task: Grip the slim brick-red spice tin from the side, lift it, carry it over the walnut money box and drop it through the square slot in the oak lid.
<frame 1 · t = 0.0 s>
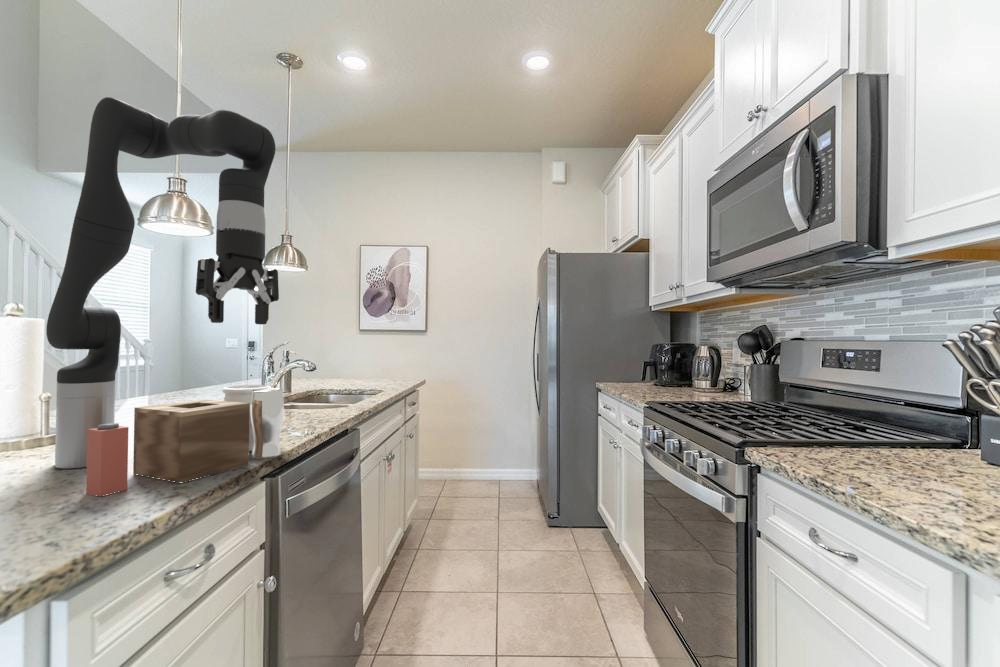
hand: (239, 323, 81), 29 cm above the countertop, tool pointing down, fingers open, 8 cm apart
jar: (246, 449, 111), on the countertop
slot box: (193, 469, 93), on the countertop
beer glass: (266, 456, 105), on the countertop
spice tin: (106, 492, 80), on the countertop
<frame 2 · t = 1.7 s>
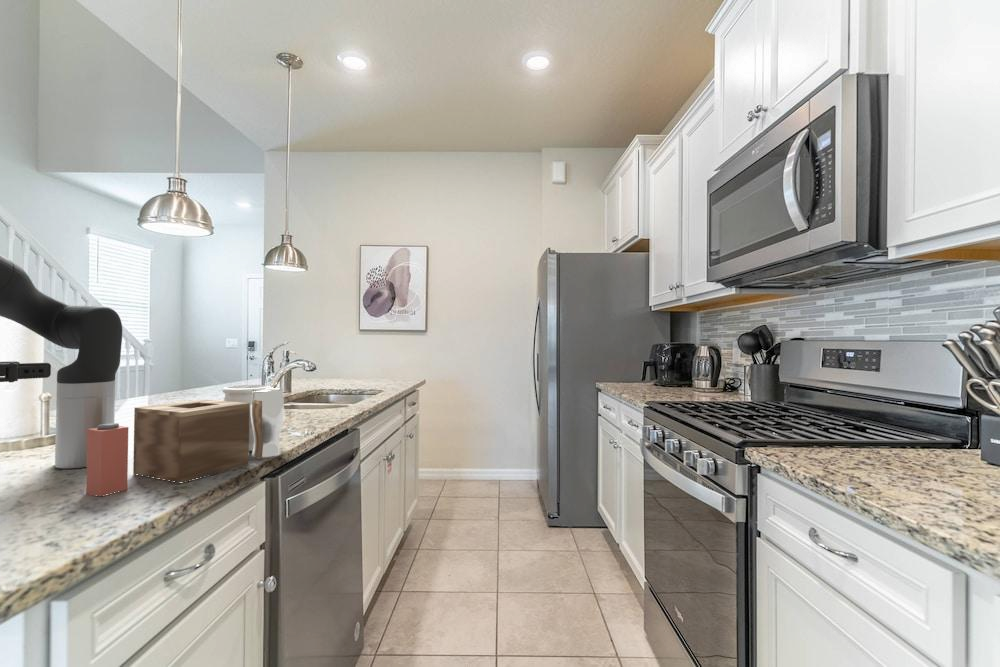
hand: (33, 369, 71), 22 cm above the countertop, tool horizontal, fingers open, 8 cm apart
nothing on the countertop moved.
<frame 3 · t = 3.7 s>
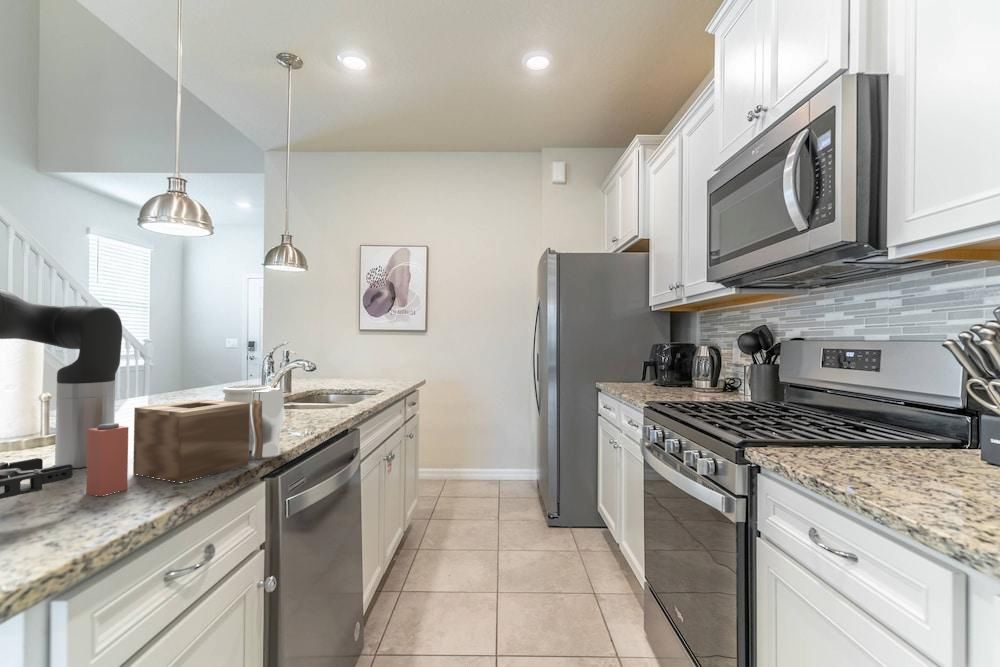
hand: (56, 467, 73), 6 cm above the countertop, tool horizontal, fingers open, 8 cm apart
nothing on the countertop moved.
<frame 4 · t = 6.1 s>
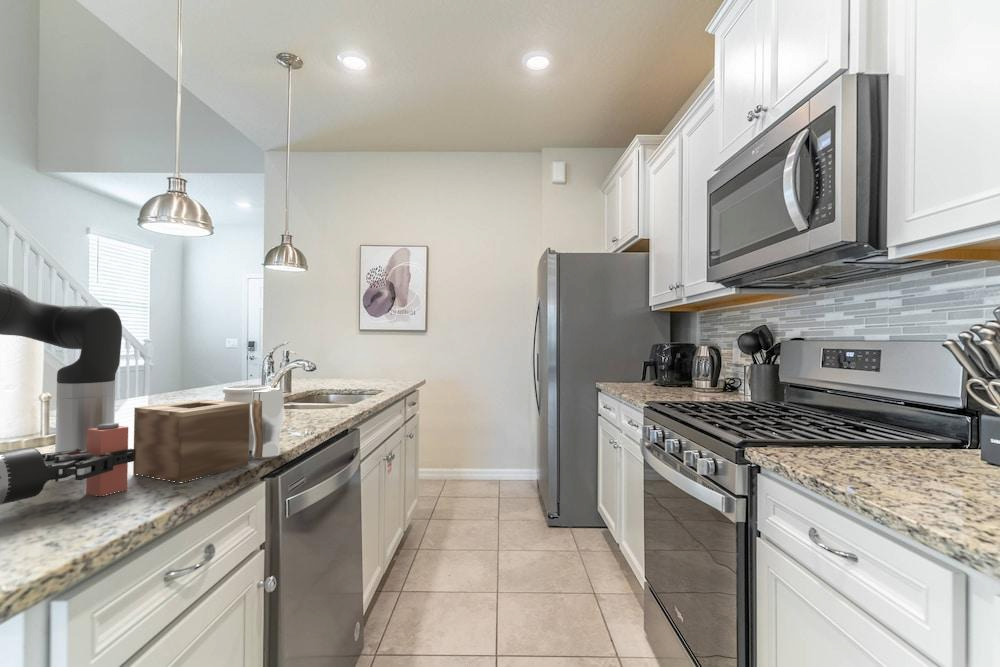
hand: (125, 453, 82), 6 cm above the countertop, tool horizontal, fingers closed on spice tin, 4 cm apart
spice tin: (106, 491, 80), on the countertop, touching gripper
everything else where it was.
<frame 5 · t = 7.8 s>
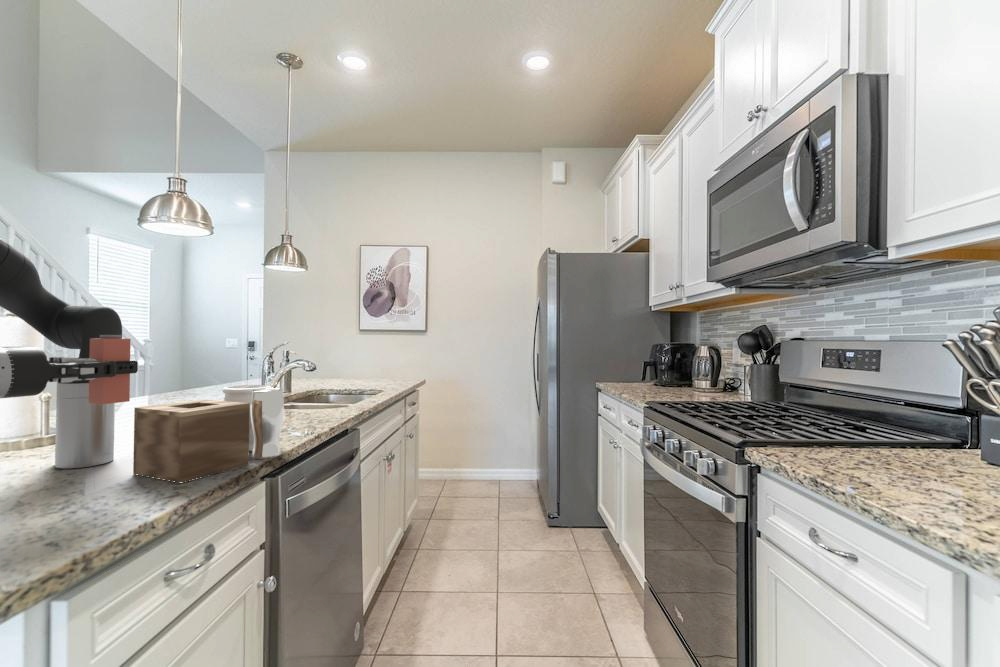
hand: (127, 366, 82), 22 cm above the countertop, tool horizontal, fingers closed on spice tin, 4 cm apart
spice tin: (109, 402, 80), point 15 cm above the countertop, touching gripper
everything else where it was.
when the fingers open (20 cm above the countertop, at t = 9.7 s): spice tin drops 13 cm, resting on slot box.
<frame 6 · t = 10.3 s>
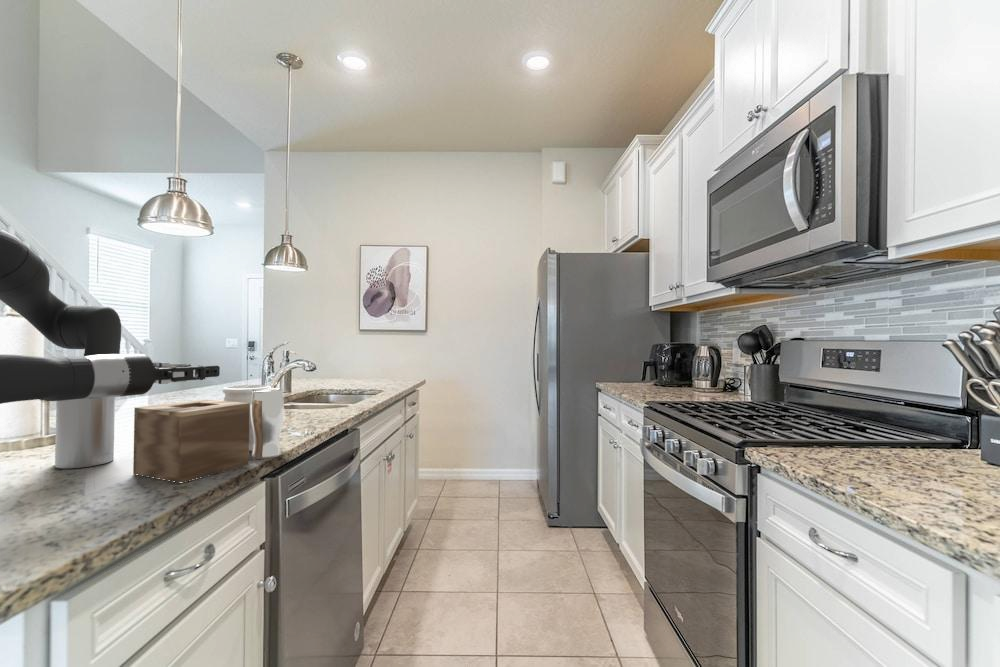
hand: (204, 370, 95), 20 cm above the countertop, tool horizontal, fingers open, 8 cm apart
spice tin: (193, 465, 94), point 1 cm above the countertop, touching slot box
everything else where it was.
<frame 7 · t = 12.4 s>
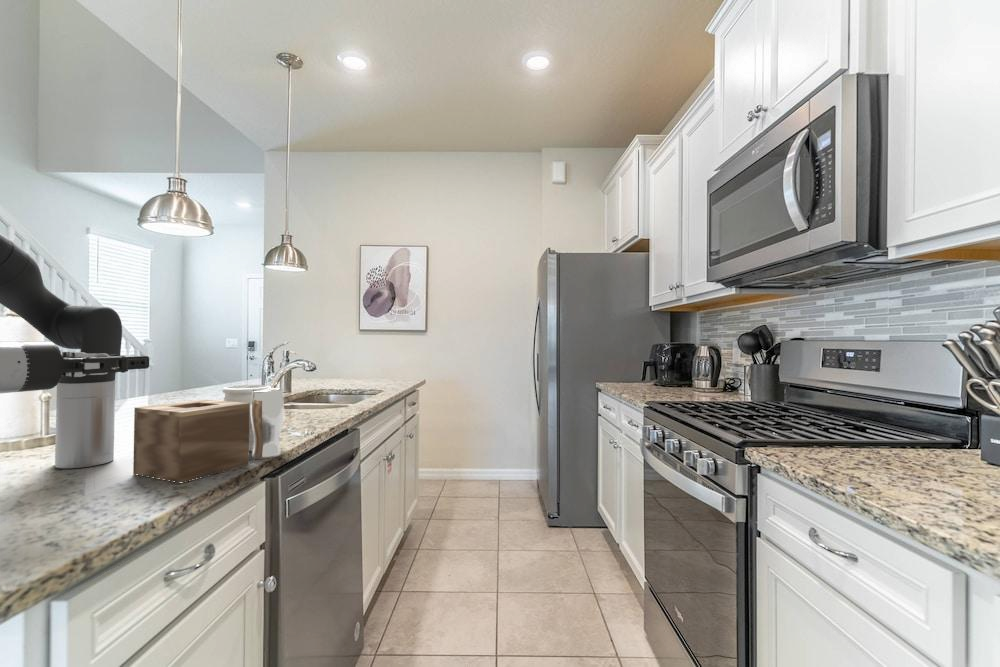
hand: (132, 361, 83), 22 cm above the countertop, tool horizontal, fingers open, 8 cm apart
nothing on the countertop moved.
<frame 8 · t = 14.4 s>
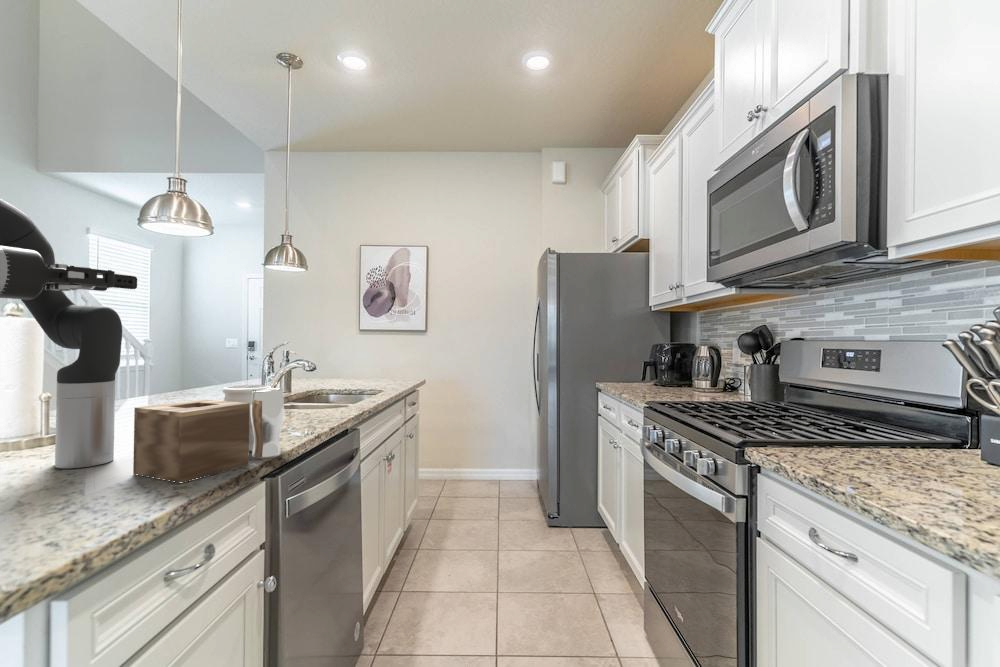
hand: (120, 284, 81), 36 cm above the countertop, tool horizontal, fingers open, 8 cm apart
nothing on the countertop moved.
at the end: spice tin inside the target area on the slot box (0.2 cm from its centre), point 0.8 cm above the slot box's base; the gripper is holding nothing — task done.
